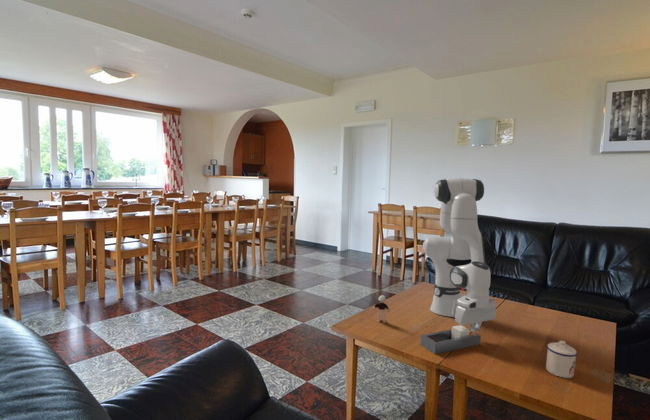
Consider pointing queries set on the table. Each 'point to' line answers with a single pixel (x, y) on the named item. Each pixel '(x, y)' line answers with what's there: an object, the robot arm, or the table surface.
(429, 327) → the table surface
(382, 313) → the grandmother figurine
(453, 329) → the block
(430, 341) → the chute
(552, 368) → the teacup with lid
